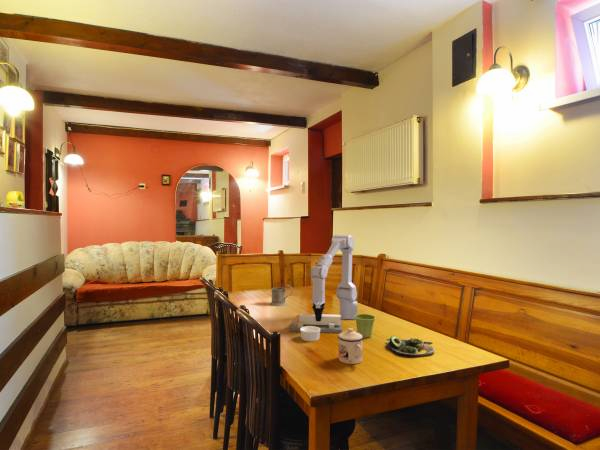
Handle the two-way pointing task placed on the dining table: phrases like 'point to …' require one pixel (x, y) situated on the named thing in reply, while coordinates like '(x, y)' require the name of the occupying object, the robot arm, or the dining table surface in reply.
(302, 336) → the ramekin
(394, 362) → the dining table surface
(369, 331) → the plant pot
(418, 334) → the dining table surface
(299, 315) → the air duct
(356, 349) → the teacup with lid
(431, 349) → the salad plate
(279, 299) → the mug
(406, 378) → the dining table surface
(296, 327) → the collar stand
